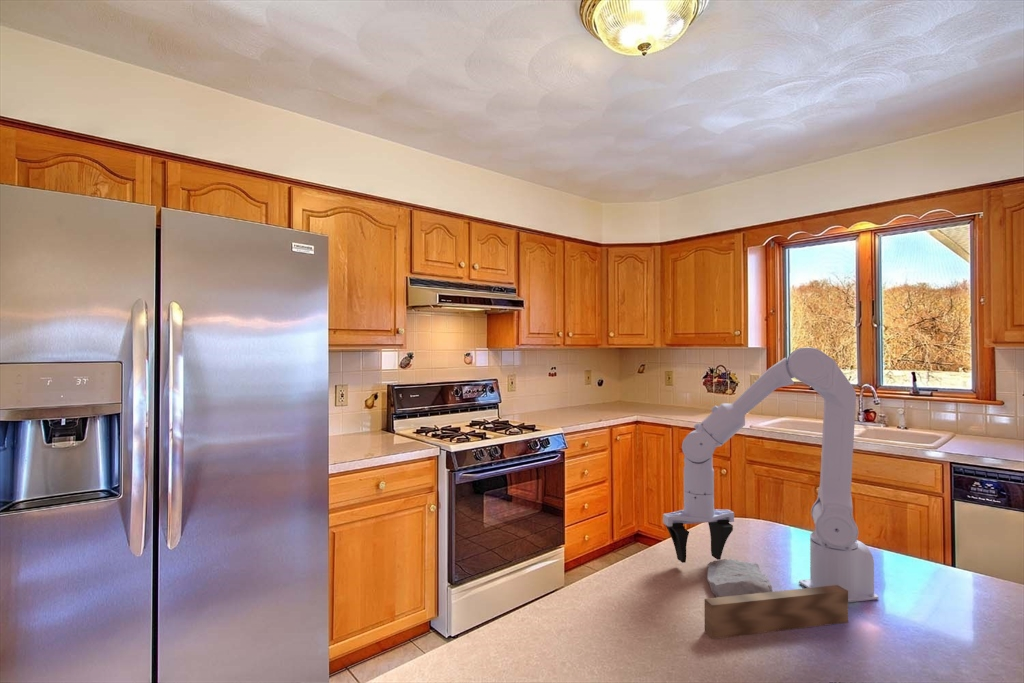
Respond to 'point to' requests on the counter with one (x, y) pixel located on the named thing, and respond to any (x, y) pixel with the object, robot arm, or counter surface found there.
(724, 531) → the robot arm
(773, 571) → the counter surface
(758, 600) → the walnut wall
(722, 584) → the stone block
